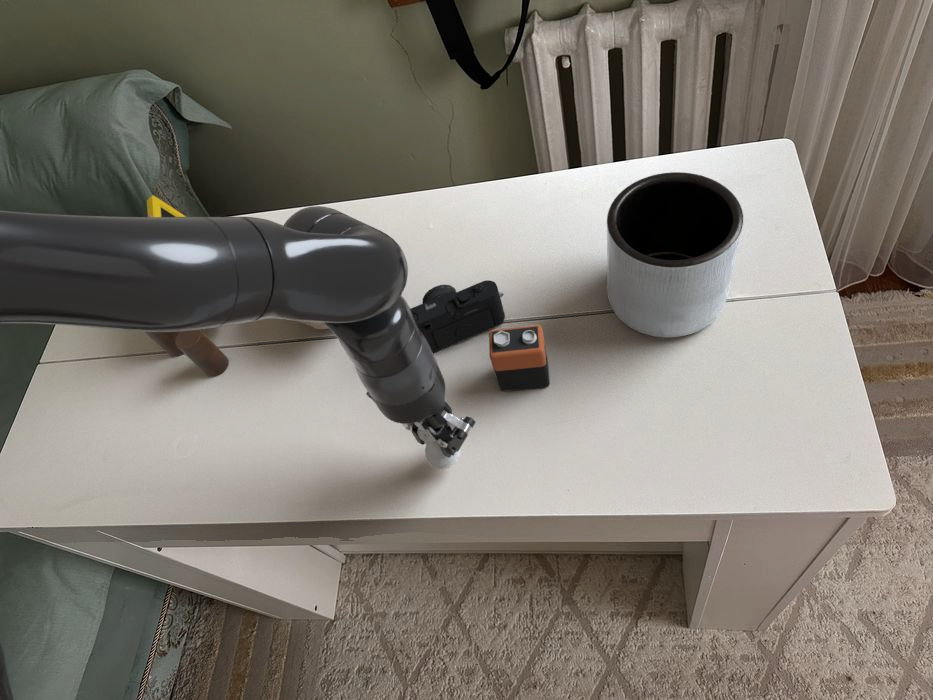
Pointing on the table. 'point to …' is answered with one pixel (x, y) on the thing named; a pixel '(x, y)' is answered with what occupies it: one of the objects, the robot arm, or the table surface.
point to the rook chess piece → (436, 453)
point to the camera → (458, 313)
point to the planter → (671, 252)
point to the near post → (202, 352)
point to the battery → (519, 357)
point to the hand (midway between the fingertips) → (438, 443)
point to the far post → (166, 342)
